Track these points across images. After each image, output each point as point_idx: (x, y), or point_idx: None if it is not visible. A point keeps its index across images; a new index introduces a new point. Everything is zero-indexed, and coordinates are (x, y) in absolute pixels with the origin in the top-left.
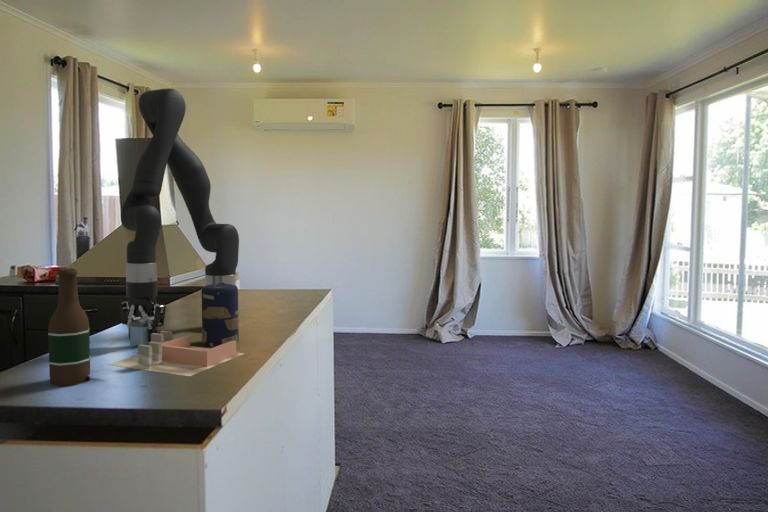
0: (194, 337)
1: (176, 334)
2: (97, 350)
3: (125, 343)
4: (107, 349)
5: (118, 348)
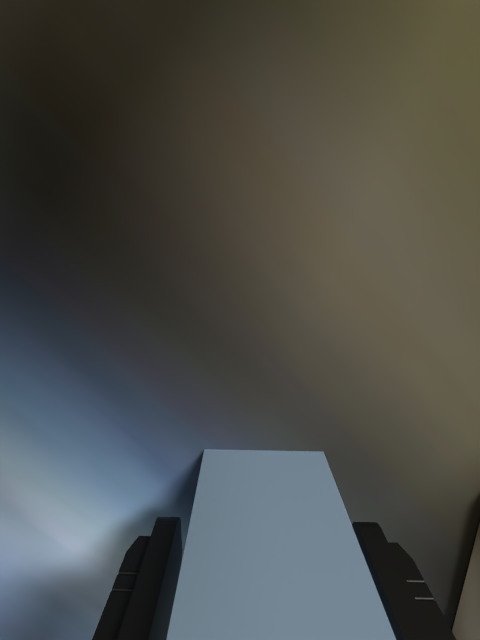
0: (464, 62)
1: (187, 16)
2: (79, 628)
3: (69, 469)
4: None
5: None
